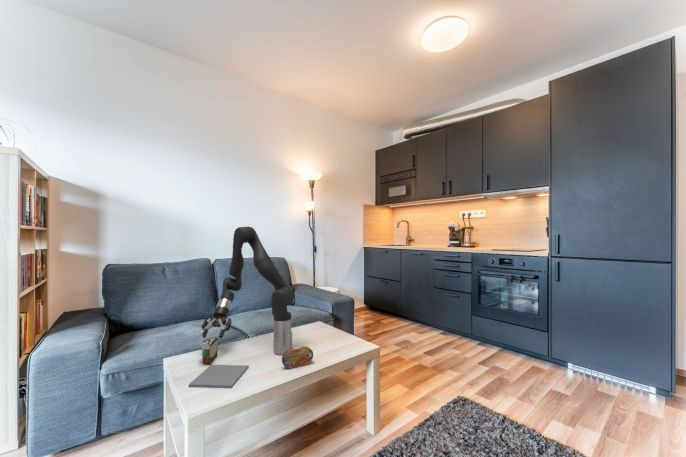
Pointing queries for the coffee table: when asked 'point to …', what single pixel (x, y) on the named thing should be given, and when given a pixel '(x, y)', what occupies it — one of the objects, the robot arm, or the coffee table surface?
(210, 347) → the food container
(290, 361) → the tin
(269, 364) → the coffee table surface
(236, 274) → the robot arm
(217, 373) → the slate board
